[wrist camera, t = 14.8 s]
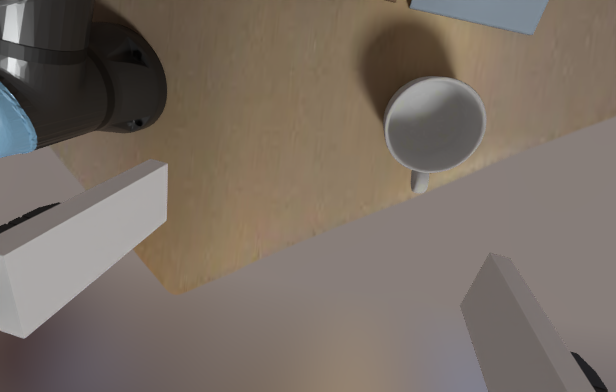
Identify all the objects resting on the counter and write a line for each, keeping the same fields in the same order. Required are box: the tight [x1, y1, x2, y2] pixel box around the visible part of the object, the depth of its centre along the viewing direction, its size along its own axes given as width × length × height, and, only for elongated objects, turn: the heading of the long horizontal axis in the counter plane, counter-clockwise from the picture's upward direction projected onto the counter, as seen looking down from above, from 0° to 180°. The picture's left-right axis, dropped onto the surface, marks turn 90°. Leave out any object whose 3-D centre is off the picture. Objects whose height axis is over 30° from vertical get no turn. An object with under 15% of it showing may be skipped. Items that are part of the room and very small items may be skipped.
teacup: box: [383, 76, 486, 193], centre depth 41 cm, size 14×11×8 cm
